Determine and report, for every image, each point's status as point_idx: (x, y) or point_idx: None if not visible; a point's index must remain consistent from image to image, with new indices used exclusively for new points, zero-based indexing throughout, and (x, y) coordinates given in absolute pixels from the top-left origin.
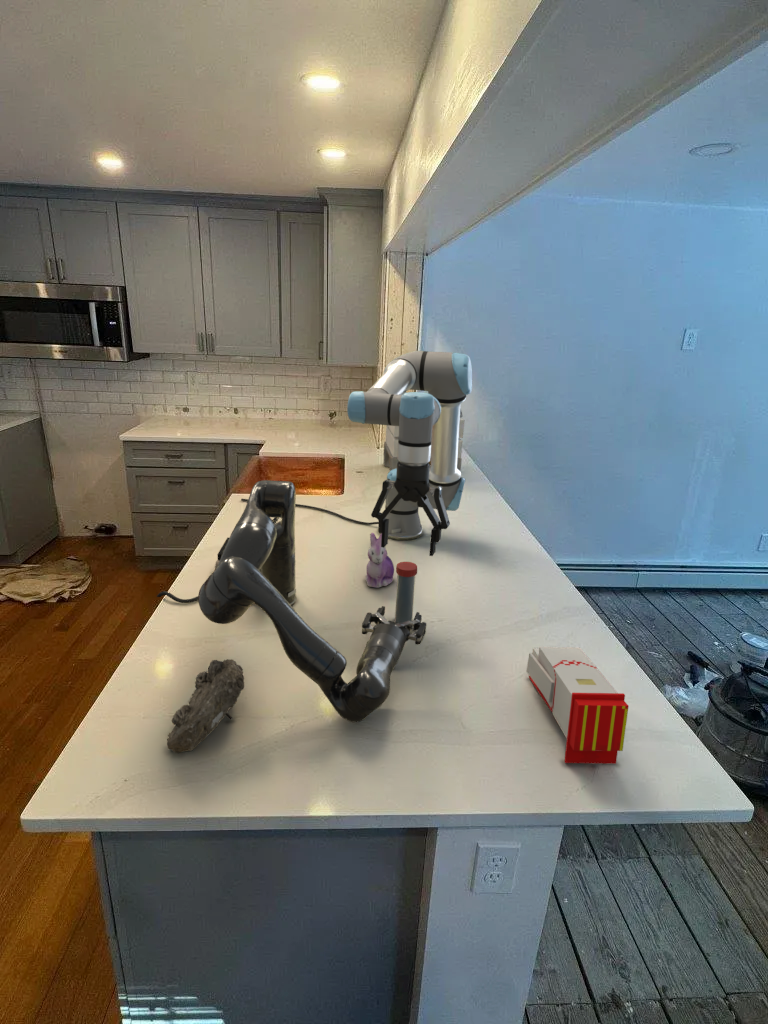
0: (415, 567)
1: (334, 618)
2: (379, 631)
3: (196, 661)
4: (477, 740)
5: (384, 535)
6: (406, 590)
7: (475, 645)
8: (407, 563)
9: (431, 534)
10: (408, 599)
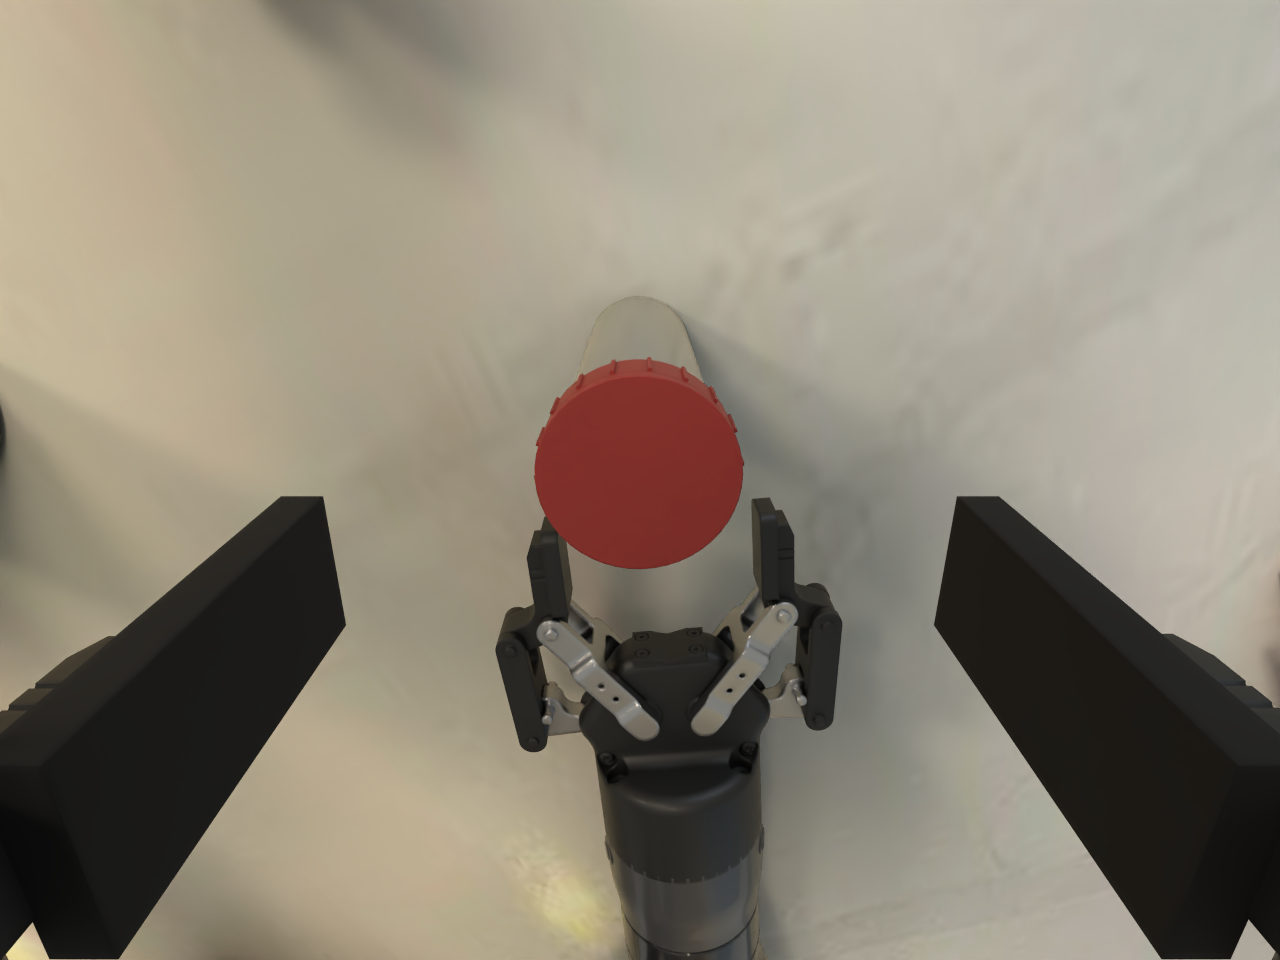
0: (728, 476)
1: (284, 452)
2: (654, 869)
3: None
4: (1043, 894)
5: (263, 739)
6: None
7: (1049, 411)
8: (626, 424)
9: (1111, 870)
10: None
